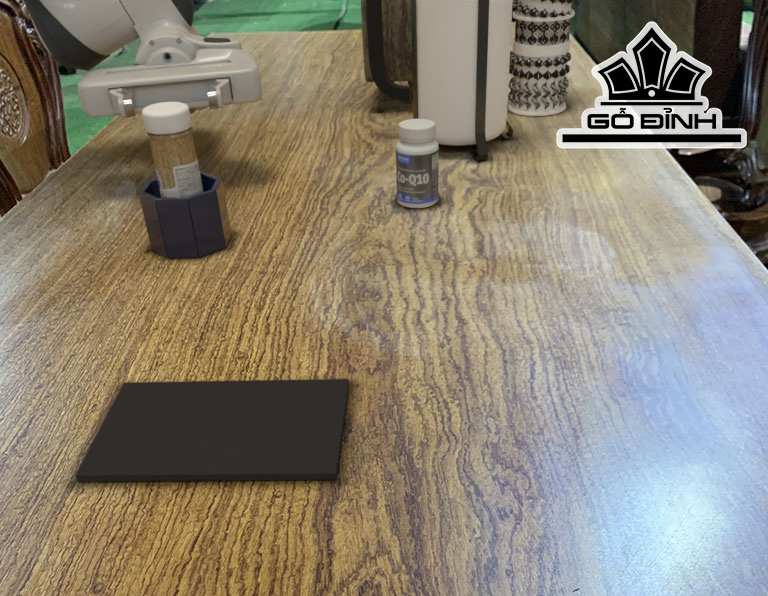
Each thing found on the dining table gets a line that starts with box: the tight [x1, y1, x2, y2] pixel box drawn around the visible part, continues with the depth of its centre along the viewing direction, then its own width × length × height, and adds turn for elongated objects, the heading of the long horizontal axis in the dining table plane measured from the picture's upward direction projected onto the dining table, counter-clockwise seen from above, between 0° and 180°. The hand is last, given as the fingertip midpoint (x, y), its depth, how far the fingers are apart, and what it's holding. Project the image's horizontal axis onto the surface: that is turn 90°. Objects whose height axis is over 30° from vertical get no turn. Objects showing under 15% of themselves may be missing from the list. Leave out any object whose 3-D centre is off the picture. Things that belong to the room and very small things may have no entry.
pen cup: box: [137, 171, 232, 259], centre depth 86 cm, size 8×8×6 cm
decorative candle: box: [507, 0, 578, 117], centre depth 112 cm, size 9×9×25 cm
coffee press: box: [366, 0, 514, 162], centre depth 99 cm, size 17×16×30 cm
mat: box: [75, 378, 350, 483], centre depth 61 cm, size 18×12×1 cm, turn 88°
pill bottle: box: [395, 118, 440, 209], centre depth 91 cm, size 5×5×8 cm
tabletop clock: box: [360, 0, 413, 112], centre depth 118 cm, size 14×9×25 cm, turn 175°
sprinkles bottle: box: [141, 102, 203, 198], centre depth 84 cm, size 5×5×14 cm
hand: (171, 104), depth 89 cm, fingers open, 8 cm apart
